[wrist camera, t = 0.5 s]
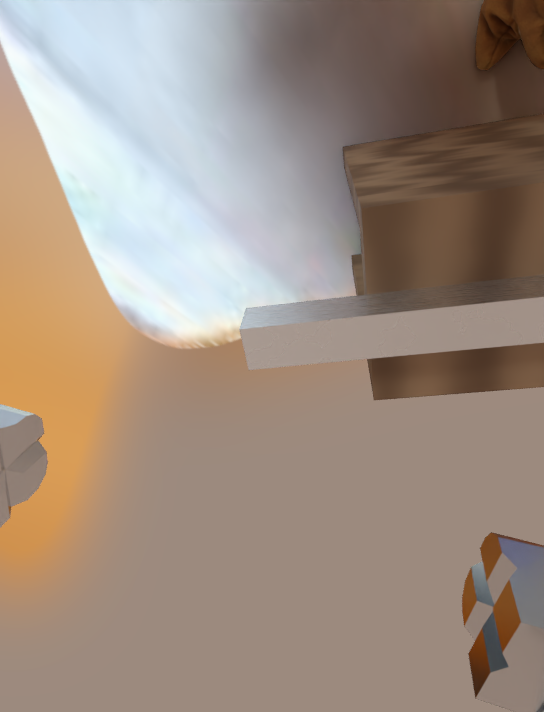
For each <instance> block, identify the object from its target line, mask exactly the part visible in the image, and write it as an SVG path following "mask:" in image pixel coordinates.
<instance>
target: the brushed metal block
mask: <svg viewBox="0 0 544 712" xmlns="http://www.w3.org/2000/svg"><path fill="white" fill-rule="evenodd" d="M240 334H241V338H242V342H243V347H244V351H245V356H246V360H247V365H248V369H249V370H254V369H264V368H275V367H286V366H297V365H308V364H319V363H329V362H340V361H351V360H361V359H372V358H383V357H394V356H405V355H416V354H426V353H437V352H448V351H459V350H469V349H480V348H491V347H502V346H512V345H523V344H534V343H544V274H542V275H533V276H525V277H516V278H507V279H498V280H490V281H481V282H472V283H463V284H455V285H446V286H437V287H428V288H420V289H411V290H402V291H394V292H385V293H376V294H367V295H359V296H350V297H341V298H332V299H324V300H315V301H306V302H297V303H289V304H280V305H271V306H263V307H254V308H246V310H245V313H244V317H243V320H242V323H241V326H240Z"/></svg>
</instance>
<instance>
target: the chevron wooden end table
mask: <svg viewBox="0 0 544 712" xmlns="http://www.w3.org/2000/svg"><path fill="white" fill-rule="evenodd" d="M343 157H344V168H345V172H346V176H347V179H348V183H349V187H350V191H351V195H352V199H353V203H354V207H355V211H356V215H357V219H358V222H359V226H360V237H361V252H362V254H359V255H351V256H352V268H353V276H354V282H355V288H356V294H357V296H359V295H367V294H376V293H385V292H394V291H402V290H411V289H420V288H428V287H437V286H446V285H455V284H463V283H472V282H481V281H490V280H498V279H507V278H516V277H525V276H533V275H542V274H544V114H539V115H533V116H527V117H521V118H515V119H508V120H502V121H496V122H490V123H484V124H478V125H472V126H466V127H460V128H454V129H448V130H442V131H436V132H430V133H424V134H418V135H412V136H406V137H400V138H394V139H388V140H382V141H376V142H370V143H363V144H357V145H351V146H345V147H343ZM367 361H368V367H369V373H370V379H371V384H372V391H373V397H374V400H382V399H396V398H409V397H420V396H434V395H447V394H459V393H471V392H485V391H497V390H510V389H523V388H536V387H544V343H534V344H523V345H512V346H502V347H491V348H480V349H469V350H459V351H448V352H437V353H426V354H416V355H405V356H394V357H383V358H372V359H367Z"/></svg>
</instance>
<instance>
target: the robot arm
mask: <svg viewBox="0 0 544 712" xmlns="http://www.w3.org/2000/svg"><path fill="white" fill-rule="evenodd" d="M43 434H44V428H43V423H42V418H40V417H39V416H37V415H35V414H32V413H29V412H26V411H22V410H19V409H15V408H12V407H8V406H5V405H1V404H0V527H1V526H2V525H3V524H4V523H5V522H6V521H7V520H8V519H9V518H10V513H11V506H14V505H16V504H19V503H21V502H23V501H26V500H28V499H29V498H30V497H31V496H32V494H34V492H35V491H36V490H37V489H38V488H39V486H40V484H41V482H42V480H43V478H44V476H45V474H46V468H47V463H48V461H47V452H46V451H45V449H44V448H43V447H42V445H41V444H40V442H39V441H38V440H39V439H40V438H41V437H42V435H43ZM480 551H481V556H482V562H480V563H479V564H476V565H474V566H472V567H471V568H470V570H469V573H468V575H467V578H466V580H465V584H464V590H463V595H462V613H463V621H464V627H465V628H466V629H467V631H468V632H469V633H470V635H471V636H472V638H473V639H474V640H475V642H474V644H473V646H472V648H471V650H470V652H469V653H468V655H469V661H470V668H471V674H472V680H473V687H474V693H475V698H476V699H478V700H481V701H484V702H487V703H490V704H493V705H496V706H499V707H502V708H505V709H508V710H511V711H513V712H544V545H540V544H536V543H532V542H528V541H524V540H520V539H516V538H512V537H508V536H504V535H500V534H496V533H492V532H491V533H490V534H489V535H488V536H487V537H485V539H484V541H483V543H482V545H481V547H480Z"/></svg>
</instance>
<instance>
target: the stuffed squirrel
mask: <svg viewBox="0 0 544 712" xmlns="http://www.w3.org/2000/svg"><path fill="white" fill-rule="evenodd" d="M519 39H522V42H523V46H524V49H525V51H526V54H527V56H528V58H529V59H530V61H531V62H532V63H533V64H534V65H535V66H536V67H538V68H540V69H544V0H484V2H483V4H482V6H481V11H480V16H479V22H478V28H477V36H476V64H477V67H478V68H479V69H481V70H488V69H490V68H491V67H493V66H494V65H495V64H496V63H497V62H498V61H499V60H500V59H501V58H502V57H503V56H504V55H505V54H506V53H507V52H508V51H509V49H510V48H511V47H512V46H513V45H514V44H515V43H516V42H517V41H518V40H519Z"/></svg>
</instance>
